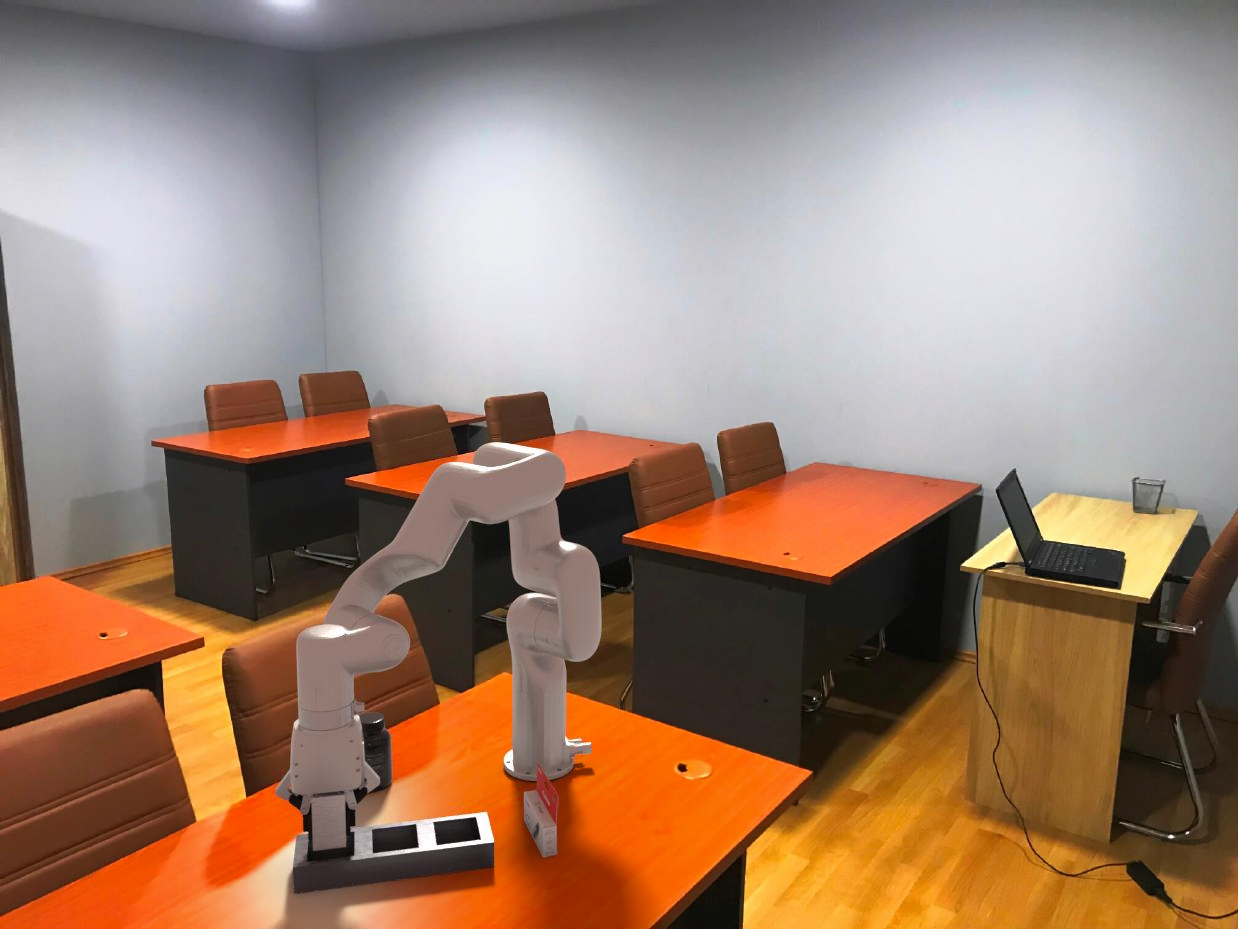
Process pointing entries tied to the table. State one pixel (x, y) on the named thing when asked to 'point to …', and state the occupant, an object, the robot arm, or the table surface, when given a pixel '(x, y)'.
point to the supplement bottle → (377, 747)
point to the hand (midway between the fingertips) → (329, 831)
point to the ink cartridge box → (542, 814)
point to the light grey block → (328, 820)
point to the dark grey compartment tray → (396, 853)
